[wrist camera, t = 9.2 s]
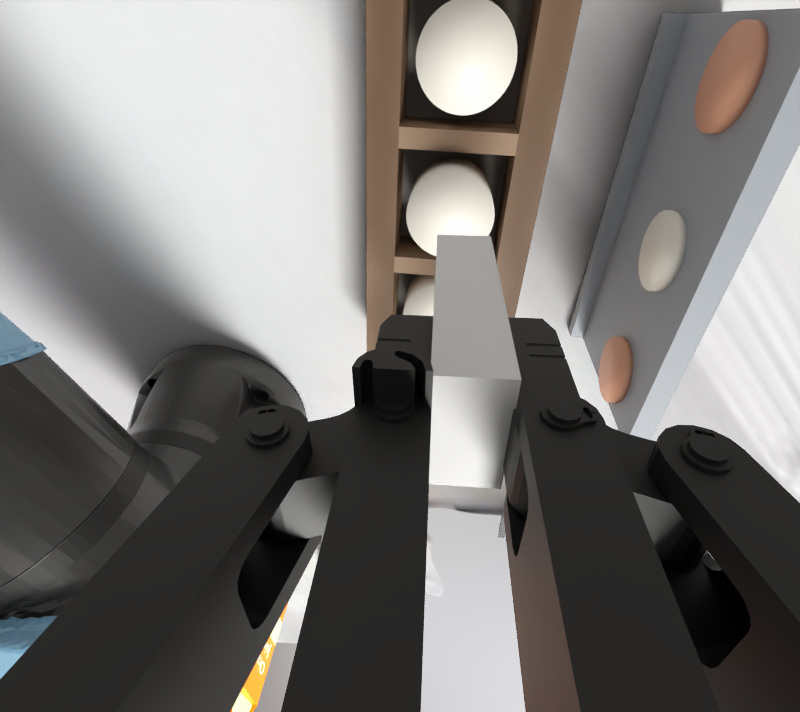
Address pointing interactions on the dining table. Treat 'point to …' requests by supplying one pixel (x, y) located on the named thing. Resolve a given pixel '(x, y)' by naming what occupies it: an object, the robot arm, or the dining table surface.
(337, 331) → the dining table surface
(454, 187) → the middle button
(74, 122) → the dining table surface
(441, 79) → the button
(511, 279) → the button board
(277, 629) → the orange juice
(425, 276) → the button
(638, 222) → the pattern panel
